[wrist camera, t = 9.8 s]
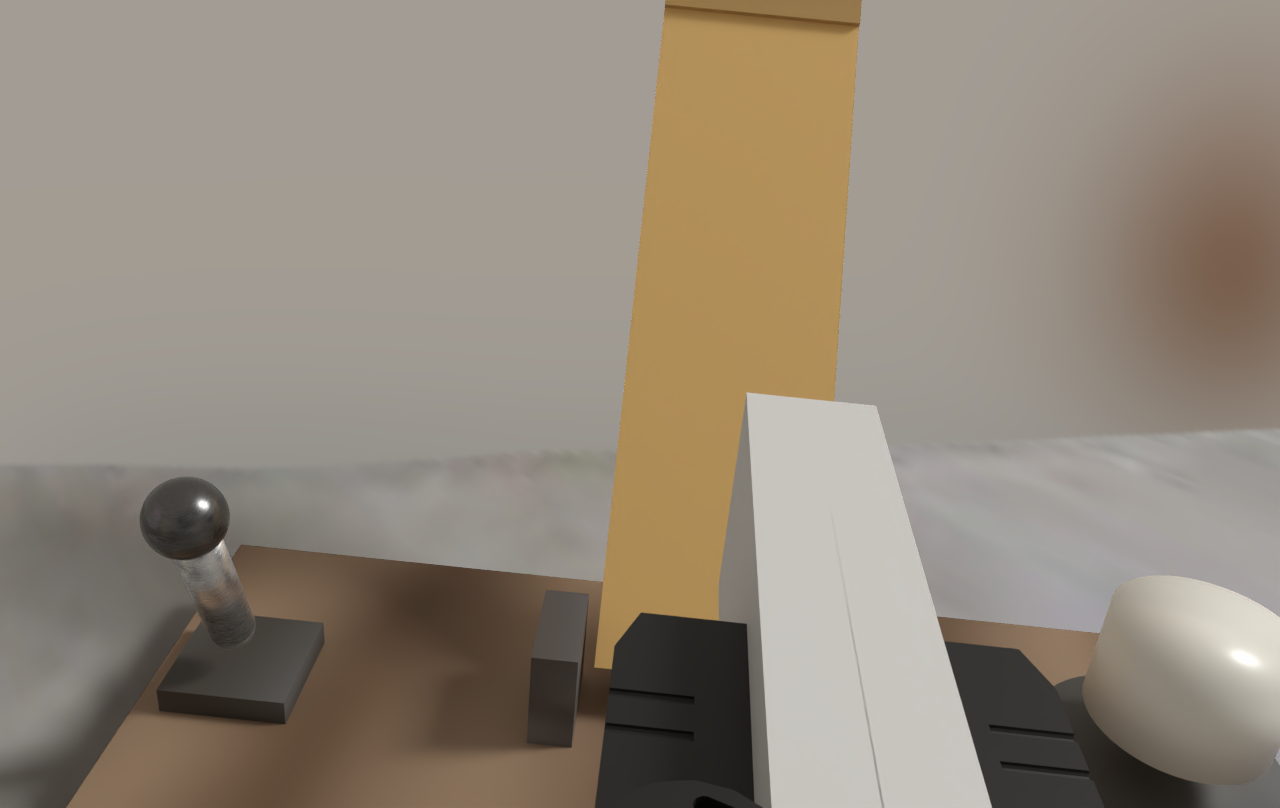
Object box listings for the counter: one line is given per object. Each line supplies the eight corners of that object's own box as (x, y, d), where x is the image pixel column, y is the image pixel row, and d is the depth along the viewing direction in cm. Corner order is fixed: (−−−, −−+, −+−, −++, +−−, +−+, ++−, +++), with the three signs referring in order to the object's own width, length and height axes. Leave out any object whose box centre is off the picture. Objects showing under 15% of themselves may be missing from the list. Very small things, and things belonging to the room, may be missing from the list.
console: (1169, 700, 31) (1220, 569, 29) (1357, 1048, 22) (1450, 895, 20) (246, 604, 31) (234, 468, 29) (61, 909, 22) (25, 744, 20)
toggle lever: (282, 609, 25) (231, 464, 21) (261, 673, 24) (202, 533, 20) (213, 602, 25) (148, 456, 21) (188, 666, 24) (115, 524, 20)
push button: (1228, 666, 27) (1262, 585, 26) (1308, 794, 23) (1352, 705, 22) (1060, 649, 27) (1087, 567, 26) (1115, 774, 23) (1149, 685, 22)
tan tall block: (803, 687, 27) (850, 6, 31) (816, 690, 25) (863, -33, 29) (596, 666, 27) (668, -12, 31) (593, 667, 25) (670, -52, 29)
